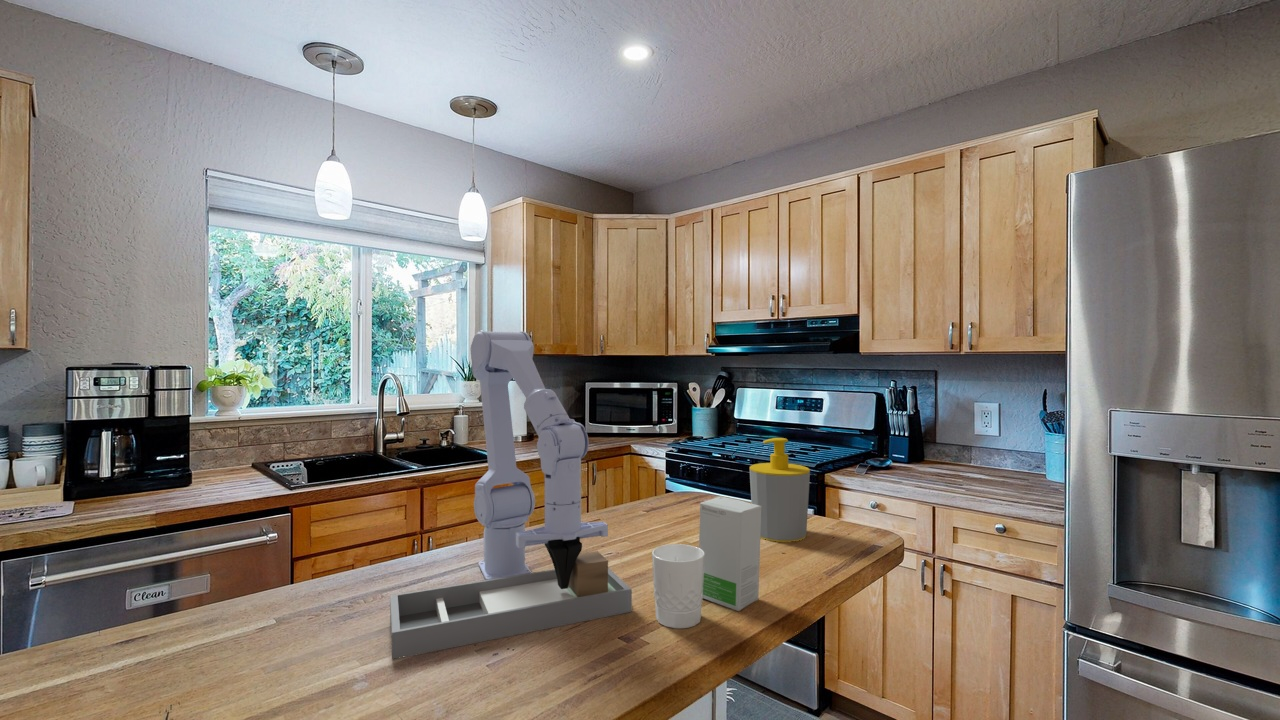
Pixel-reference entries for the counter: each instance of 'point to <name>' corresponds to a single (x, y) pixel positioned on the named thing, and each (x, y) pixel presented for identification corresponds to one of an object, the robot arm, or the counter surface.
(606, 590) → the walnut block
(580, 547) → the robot arm
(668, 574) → the white cup
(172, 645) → the counter surface
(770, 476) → the soap bottle
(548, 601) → the box
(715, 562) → the skincare box
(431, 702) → the counter surface
